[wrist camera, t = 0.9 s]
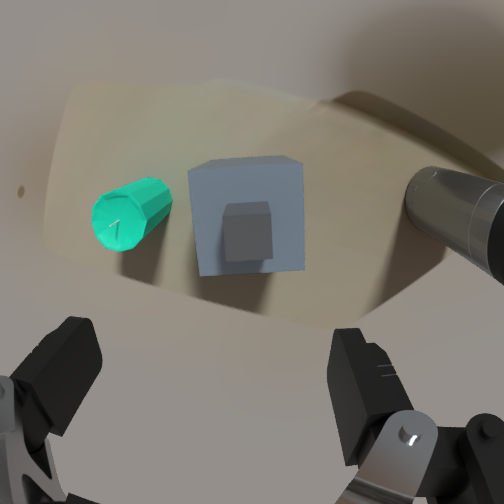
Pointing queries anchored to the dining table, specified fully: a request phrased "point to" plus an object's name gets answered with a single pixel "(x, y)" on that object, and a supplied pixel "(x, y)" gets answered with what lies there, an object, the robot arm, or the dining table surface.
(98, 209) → the candle
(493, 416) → the robot arm
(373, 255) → the dining table surface
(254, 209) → the cover
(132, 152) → the dining table surface
